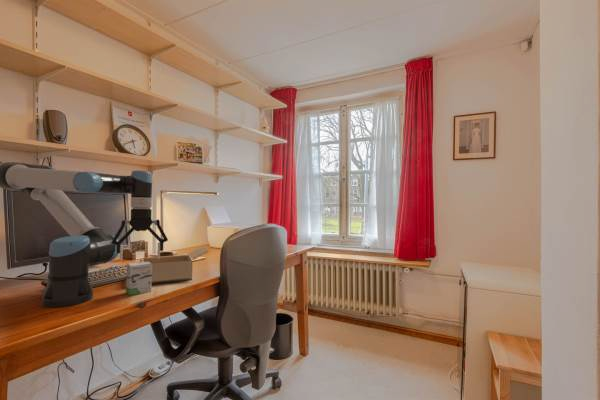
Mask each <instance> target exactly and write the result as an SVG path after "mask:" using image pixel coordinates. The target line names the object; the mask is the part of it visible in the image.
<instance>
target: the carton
mask: <svg viewBox="0 0 600 400" xmlns="http://www.w3.org/2000/svg"><path fill="white" fill-rule="evenodd" d="M188 255H189V254H188ZM188 255H187V254H178V255H177V254H176V255H174V256H160V259H158V256H148V257H147V256H146V257H142V258H140V261H139V263H140V262H150V263H152V285H153V284H163V283H173V282H182V281H191V280H193V260H192V258H191V257H190V255H189V256H188Z"/></svg>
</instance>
